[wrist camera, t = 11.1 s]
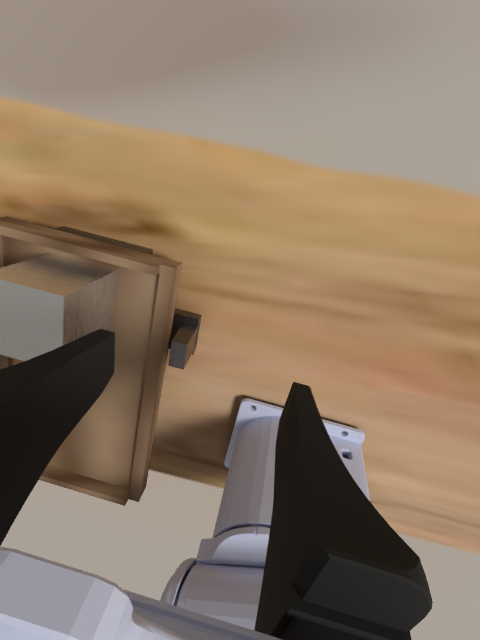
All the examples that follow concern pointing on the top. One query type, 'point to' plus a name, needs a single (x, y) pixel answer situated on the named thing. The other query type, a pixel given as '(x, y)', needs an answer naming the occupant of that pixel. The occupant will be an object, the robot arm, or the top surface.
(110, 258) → the balance beam
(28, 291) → the block
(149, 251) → the beam stand
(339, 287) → the top surface
